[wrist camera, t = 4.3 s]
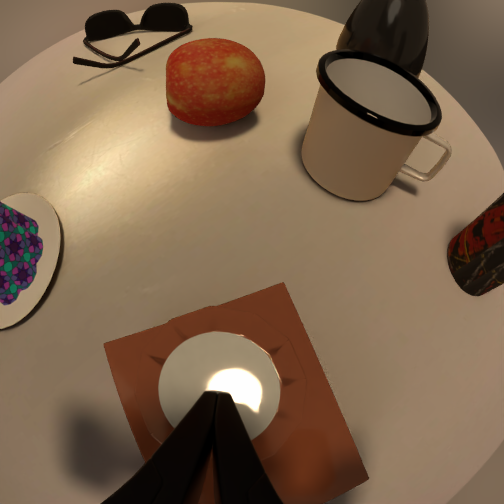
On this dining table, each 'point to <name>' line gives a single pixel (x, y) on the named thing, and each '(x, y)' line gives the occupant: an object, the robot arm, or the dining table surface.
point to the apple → (213, 82)
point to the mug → (368, 124)
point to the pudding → (25, 253)
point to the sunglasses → (119, 23)
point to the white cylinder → (220, 378)
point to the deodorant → (480, 252)
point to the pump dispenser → (389, 31)
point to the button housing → (290, 405)
